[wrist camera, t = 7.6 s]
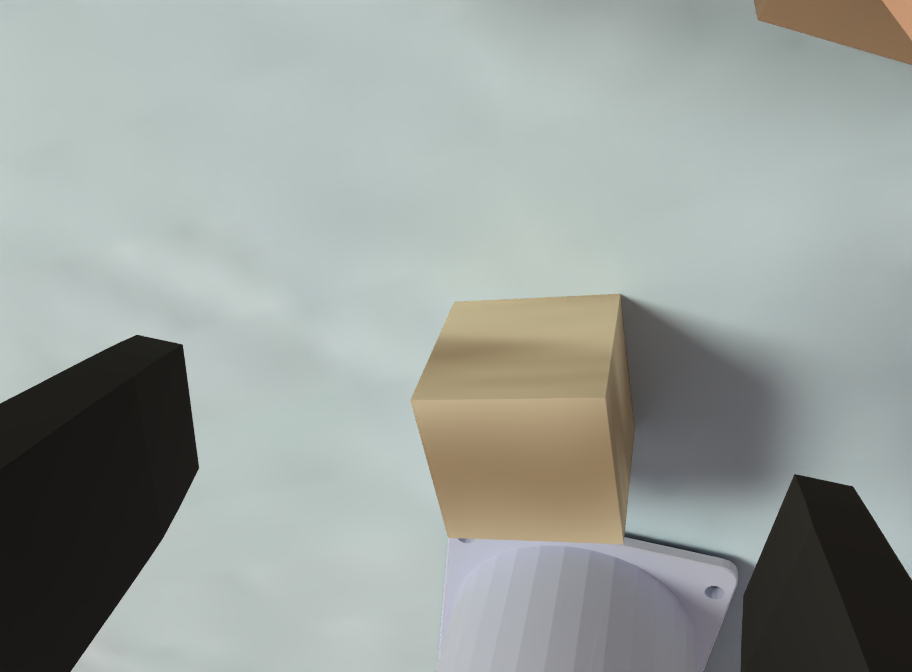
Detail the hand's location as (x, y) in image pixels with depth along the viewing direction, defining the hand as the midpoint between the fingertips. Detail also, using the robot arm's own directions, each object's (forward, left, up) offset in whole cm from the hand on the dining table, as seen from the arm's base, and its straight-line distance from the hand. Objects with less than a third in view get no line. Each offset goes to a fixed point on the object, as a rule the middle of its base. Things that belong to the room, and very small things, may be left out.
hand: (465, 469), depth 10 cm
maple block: (-6, 0, -10) cm, 11 cm away
